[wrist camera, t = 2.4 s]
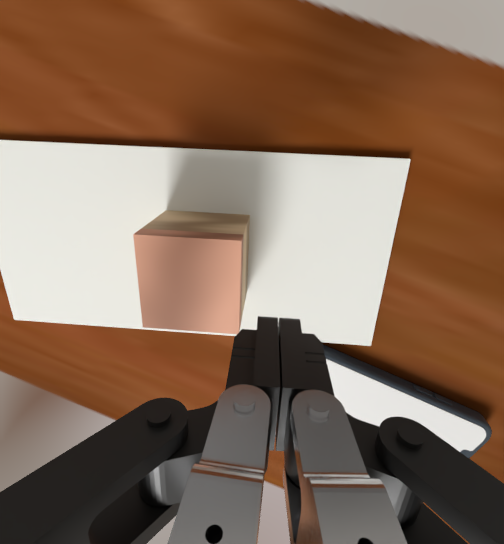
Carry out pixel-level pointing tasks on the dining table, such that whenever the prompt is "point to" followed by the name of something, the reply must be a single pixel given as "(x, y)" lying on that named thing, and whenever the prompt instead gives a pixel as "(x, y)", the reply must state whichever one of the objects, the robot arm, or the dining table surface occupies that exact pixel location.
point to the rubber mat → (197, 198)
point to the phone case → (403, 402)
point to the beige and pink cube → (193, 271)
